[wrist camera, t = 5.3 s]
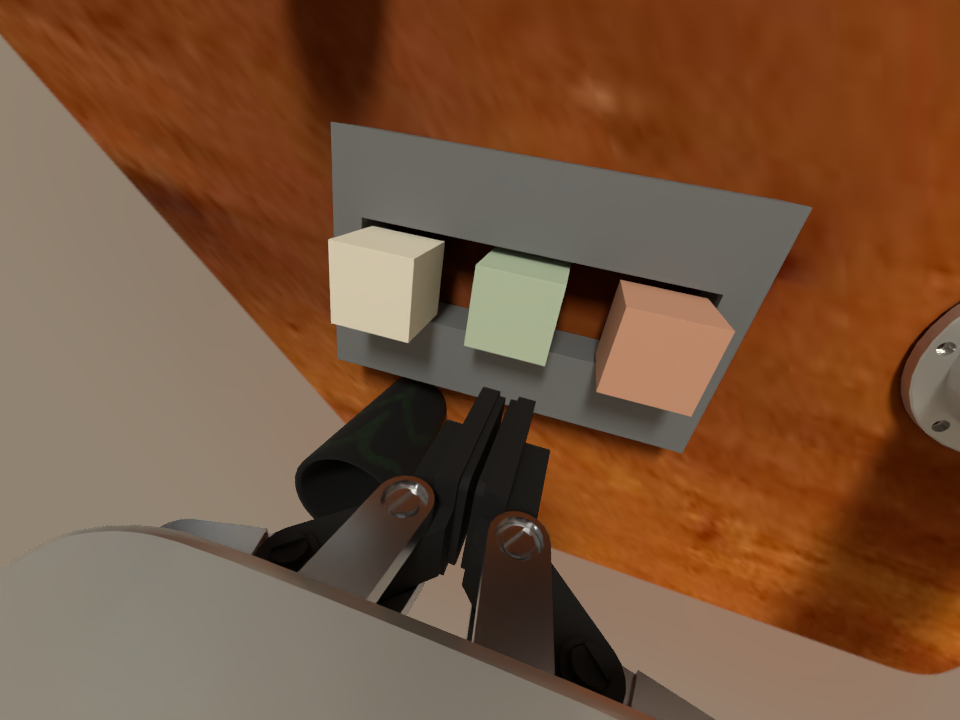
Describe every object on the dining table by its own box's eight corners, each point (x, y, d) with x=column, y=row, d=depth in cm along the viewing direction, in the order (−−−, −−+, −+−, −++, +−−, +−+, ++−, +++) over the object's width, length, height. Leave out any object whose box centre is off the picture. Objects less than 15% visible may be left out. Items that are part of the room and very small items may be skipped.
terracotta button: (708, 298, 23) (735, 331, 18) (674, 372, 25) (691, 416, 21) (620, 279, 23) (626, 307, 19) (595, 352, 26) (596, 391, 22)
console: (779, 199, 23) (812, 207, 19) (671, 419, 30) (682, 453, 27) (364, 126, 26) (330, 121, 23) (363, 338, 34) (337, 358, 31)
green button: (571, 263, 25) (566, 285, 21) (552, 333, 28) (544, 366, 23) (495, 246, 26) (475, 264, 22) (483, 316, 28) (463, 345, 24)
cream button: (444, 241, 25) (414, 258, 21) (437, 313, 27) (408, 343, 23) (372, 225, 26) (328, 239, 21) (371, 297, 28) (331, 323, 24)
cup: (421, 350, 33) (344, 438, 23) (474, 418, 35) (424, 527, 25) (362, 388, 37) (272, 478, 26) (413, 448, 39) (348, 554, 28)
